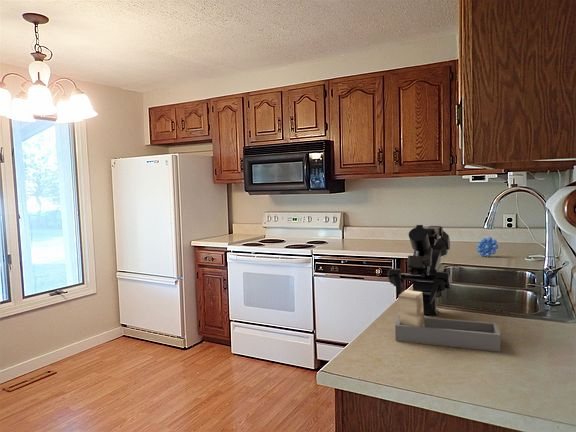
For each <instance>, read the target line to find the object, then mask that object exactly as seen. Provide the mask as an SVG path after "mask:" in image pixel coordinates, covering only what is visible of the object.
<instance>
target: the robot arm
mask: <svg viewBox="0 0 576 432" xmlns="http://www.w3.org/2000/svg"><path fill="white" fill-rule="evenodd" d="M408 239H409V241H410V244H411V248H412V250H413V253H412V254H413V255H407V263H406V265H407V270H408V272H409V273H403V272H402V269H401V268H389V269H388V270H387V274H386V275H387V278H388V281H389V284H391V285H393V286H394V287H396V291H397V297H398V299H399V295H400V294H401V293H402V292H404V290H403V289H404V284H403V283H404V281H412V291H418V292H422V294H423V310H424V316H425V315H426V316H427V315H430V316H438V310H439V309H438V308H437V298H440V297H443V292H444V291H446V290H449V289H451V285H452V280H451V276H450V275H451V274H450V273H449V272H447V271H438V270H439V267H440V263H441V259H442V257H444V256H446V255H448V252H449V250H450V249H451V241H450V236H449V234H448V233H446V231H444V227H443V226H441V225H430V226H428V227H424V225H423V224H416V226H415V227H413V228H412V229H411V230H409V232H408Z"/></svg>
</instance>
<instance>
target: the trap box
mask: <svg viewBox="0 0 576 432" xmlns="http://www.w3.org/2000/svg"><path fill="white" fill-rule="evenodd" d="M424 326H425V327H420V326H409V325H401V322H400V314H399V315H398V318H397V321H396V322H395V326H394V327H395V331H394V333H395V341H396V342H405V343H415V344H424V345H432V346H433V345H434V346H442V347H449V348H450V347H452V348H461V349H471V350H479V351H480V350H481V351H490V352H499V353H500V352H501V333H500V329H499V326H498V323H497V322H490V321H489V322H487V321H475V320H463V319H452V318H451V319H449V318H442V317H441V318H439V317H427V316H424Z"/></svg>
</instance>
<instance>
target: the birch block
mask: <svg viewBox="0 0 576 432" xmlns="http://www.w3.org/2000/svg"><path fill="white" fill-rule="evenodd" d="M398 304H399V305H398V306H399V315H400V322H401V325H409V326H420V327H425V326H424V317H425V314H424V310H423V294H422V292H418V291H413V290H410V289H405V290H403V291H402V293H401V294H400V295H399V298H398Z"/></svg>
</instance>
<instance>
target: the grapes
mask: <svg viewBox="0 0 576 432" xmlns="http://www.w3.org/2000/svg"><path fill="white" fill-rule="evenodd" d="M497 243H498V241H497V239H493V237H491V236H488V237H487V238H486V237H484V238H482V239H481V240H480V241H479V242H478V243H477V248H476V252H477V253H479V255H480V257H484V256H485V257H486V256H489V257H491V255H495V254H496V252H497V250H498V249H499V244H497Z"/></svg>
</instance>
